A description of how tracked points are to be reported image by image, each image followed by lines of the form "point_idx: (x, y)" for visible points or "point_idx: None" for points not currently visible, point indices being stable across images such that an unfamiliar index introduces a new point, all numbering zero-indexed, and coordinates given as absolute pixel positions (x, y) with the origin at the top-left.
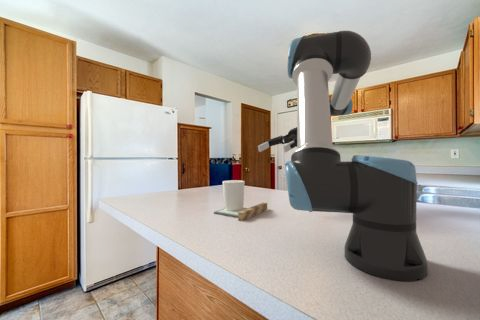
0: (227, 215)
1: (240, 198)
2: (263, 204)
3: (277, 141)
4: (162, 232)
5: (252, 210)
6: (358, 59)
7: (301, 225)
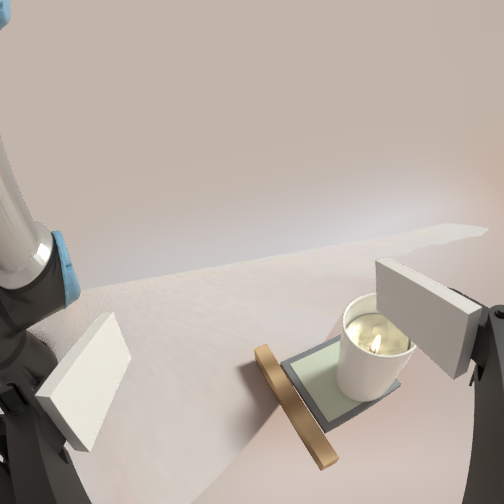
0: (315, 348)
1: (340, 367)
2: (308, 442)
3: (487, 452)
4: (277, 256)
5: (275, 388)
6: None
7: (141, 433)
